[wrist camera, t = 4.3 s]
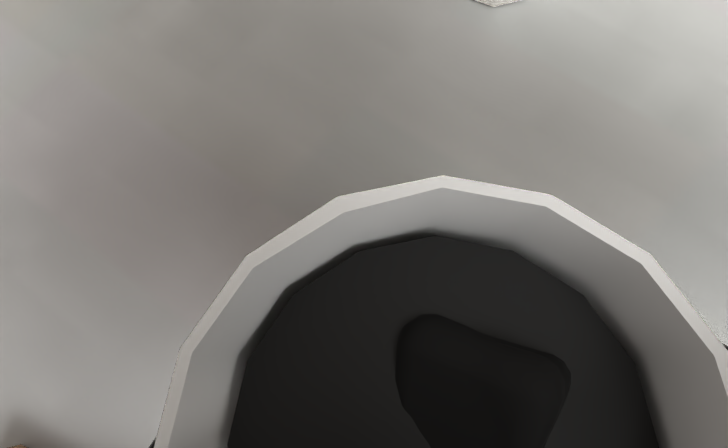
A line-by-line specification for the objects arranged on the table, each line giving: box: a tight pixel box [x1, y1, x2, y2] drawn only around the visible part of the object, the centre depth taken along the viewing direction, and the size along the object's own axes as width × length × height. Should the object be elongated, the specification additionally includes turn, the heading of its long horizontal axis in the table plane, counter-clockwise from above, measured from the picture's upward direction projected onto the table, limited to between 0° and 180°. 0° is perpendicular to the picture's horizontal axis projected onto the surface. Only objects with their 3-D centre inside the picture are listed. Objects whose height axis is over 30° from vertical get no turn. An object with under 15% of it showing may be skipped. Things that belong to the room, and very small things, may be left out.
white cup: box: [154, 175, 728, 448], centre depth 11 cm, size 7×7×10 cm
